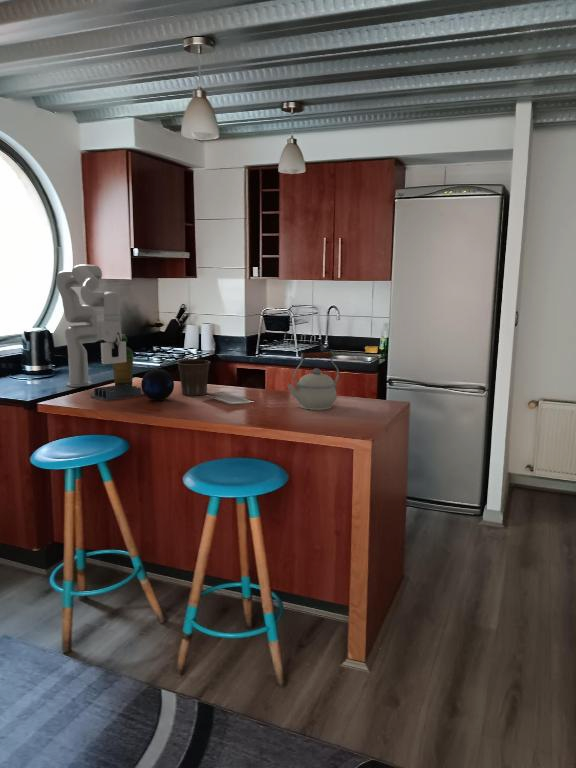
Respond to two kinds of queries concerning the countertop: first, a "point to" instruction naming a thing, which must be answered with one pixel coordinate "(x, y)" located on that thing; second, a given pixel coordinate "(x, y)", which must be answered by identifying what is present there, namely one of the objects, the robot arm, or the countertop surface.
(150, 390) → the decorative sphere
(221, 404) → the countertop surface
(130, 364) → the bottle
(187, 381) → the plant pot
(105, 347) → the small white box
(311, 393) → the kettle
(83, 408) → the countertop surface
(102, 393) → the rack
